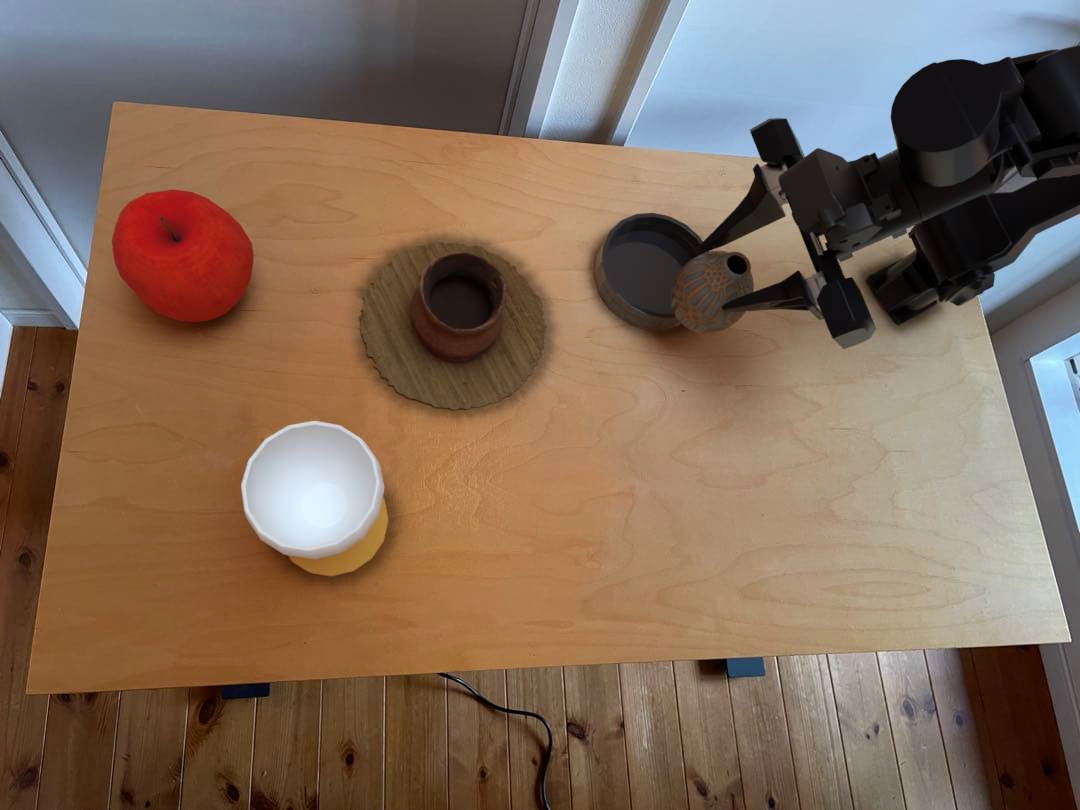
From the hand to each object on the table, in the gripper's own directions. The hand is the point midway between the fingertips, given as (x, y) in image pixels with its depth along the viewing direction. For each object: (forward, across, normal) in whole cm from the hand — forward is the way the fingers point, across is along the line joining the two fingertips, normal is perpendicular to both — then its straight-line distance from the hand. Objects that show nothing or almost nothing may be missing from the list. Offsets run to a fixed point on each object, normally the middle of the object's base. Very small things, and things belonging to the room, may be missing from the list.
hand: (712, 278), depth 58 cm
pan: (+8, -7, +9) cm, 14 cm away
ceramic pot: (+23, -5, -6) cm, 24 cm away
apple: (+38, -11, -21) cm, 45 cm away
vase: (+4, 0, +6) cm, 7 cm away
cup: (+33, +12, -16) cm, 39 cm away
